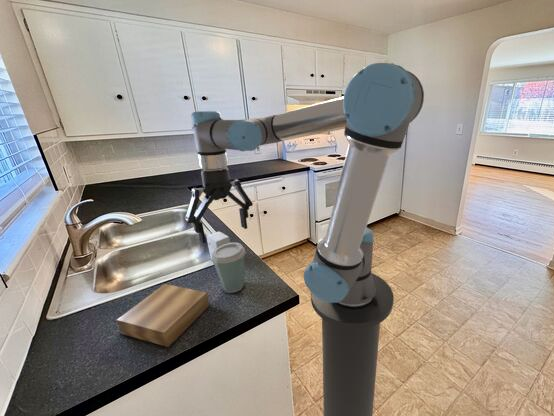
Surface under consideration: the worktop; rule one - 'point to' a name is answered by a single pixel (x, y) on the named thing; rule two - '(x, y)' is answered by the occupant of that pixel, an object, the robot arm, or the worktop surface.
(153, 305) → the maple block
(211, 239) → the small box
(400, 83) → the robot arm
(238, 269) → the disposable coffee cup
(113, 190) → the worktop surface
